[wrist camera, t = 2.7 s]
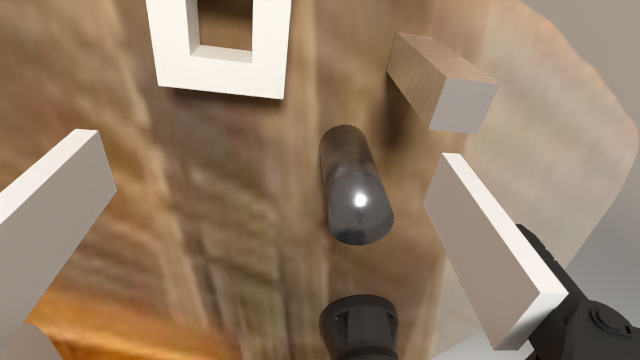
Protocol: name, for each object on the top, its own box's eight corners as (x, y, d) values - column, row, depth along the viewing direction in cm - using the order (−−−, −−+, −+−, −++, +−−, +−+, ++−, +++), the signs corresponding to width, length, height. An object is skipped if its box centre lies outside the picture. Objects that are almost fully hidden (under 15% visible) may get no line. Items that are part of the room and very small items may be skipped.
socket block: (284, 85, 36) (283, 99, 33) (170, 72, 35) (158, 85, 32) (294, -45, 30) (294, -43, 26) (153, -69, 28) (135, -70, 25)
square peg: (420, 74, 37) (476, 134, 25) (386, 70, 36) (427, 129, 25) (432, 37, 34) (500, 84, 23) (396, 31, 34) (447, 77, 23)
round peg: (361, 167, 44) (384, 246, 32) (316, 163, 43) (324, 243, 32) (371, 127, 40) (401, 200, 29) (323, 122, 39) (335, 195, 28)
